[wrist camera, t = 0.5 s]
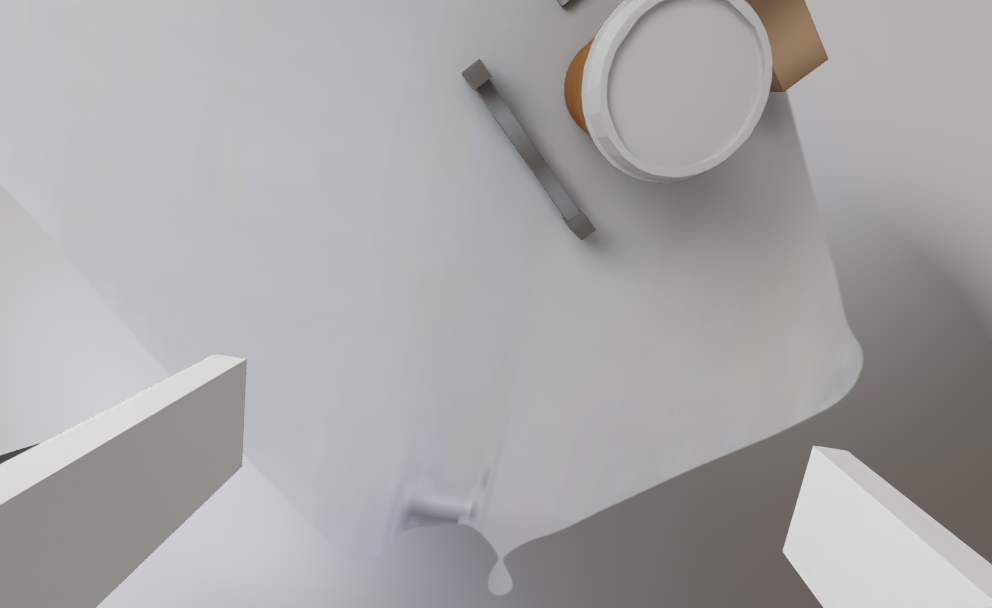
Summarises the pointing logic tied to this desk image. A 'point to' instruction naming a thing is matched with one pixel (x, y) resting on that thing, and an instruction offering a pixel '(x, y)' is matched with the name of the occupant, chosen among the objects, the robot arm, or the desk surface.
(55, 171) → the desk surface
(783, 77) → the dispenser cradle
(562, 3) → the grey mat
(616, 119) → the disposable coffee cup
